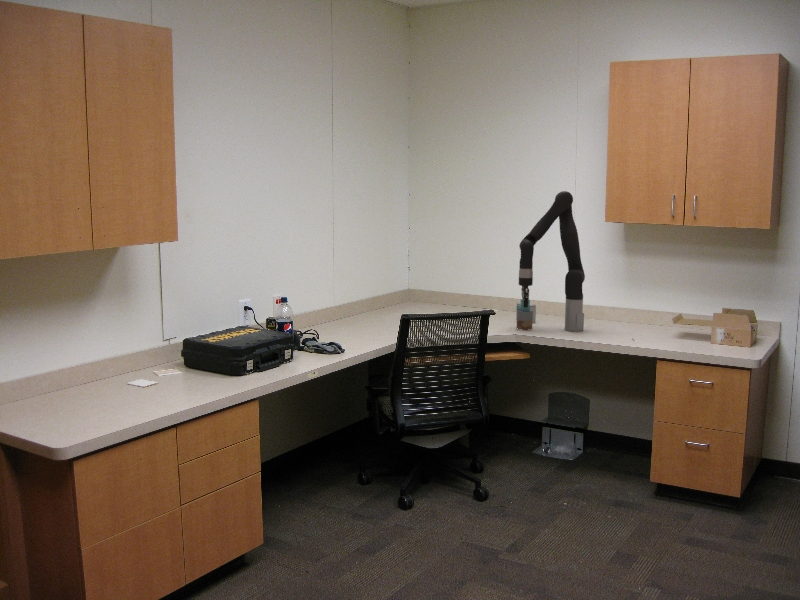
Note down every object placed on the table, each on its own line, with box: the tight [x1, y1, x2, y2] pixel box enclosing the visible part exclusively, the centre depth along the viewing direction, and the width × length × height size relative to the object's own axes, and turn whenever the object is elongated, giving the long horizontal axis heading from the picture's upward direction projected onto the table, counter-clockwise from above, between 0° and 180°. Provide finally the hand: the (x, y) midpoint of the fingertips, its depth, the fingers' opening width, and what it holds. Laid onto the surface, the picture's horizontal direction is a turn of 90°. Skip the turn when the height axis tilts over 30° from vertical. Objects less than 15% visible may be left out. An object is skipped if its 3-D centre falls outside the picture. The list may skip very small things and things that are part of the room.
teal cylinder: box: [520, 298, 531, 312], centre depth 440 cm, size 5×5×6 cm
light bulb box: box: [515, 302, 537, 324], centre depth 462 cm, size 11×7×11 cm, turn 25°
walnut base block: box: [516, 320, 533, 331], centre depth 442 cm, size 6×6×5 cm
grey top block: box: [516, 310, 533, 321], centre depth 441 cm, size 6×6×5 cm
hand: (524, 306), depth 441 cm, fingers open, 8 cm apart
